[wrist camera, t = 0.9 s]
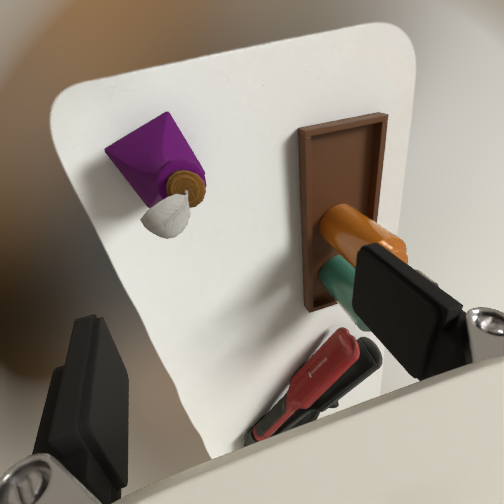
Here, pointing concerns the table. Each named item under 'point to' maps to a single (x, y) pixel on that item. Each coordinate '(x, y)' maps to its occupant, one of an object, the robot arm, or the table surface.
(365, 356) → the hair straightener
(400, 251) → the amber bottle
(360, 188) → the tray
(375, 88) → the table surface
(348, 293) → the sea-green bottle
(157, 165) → the perfume bottle
